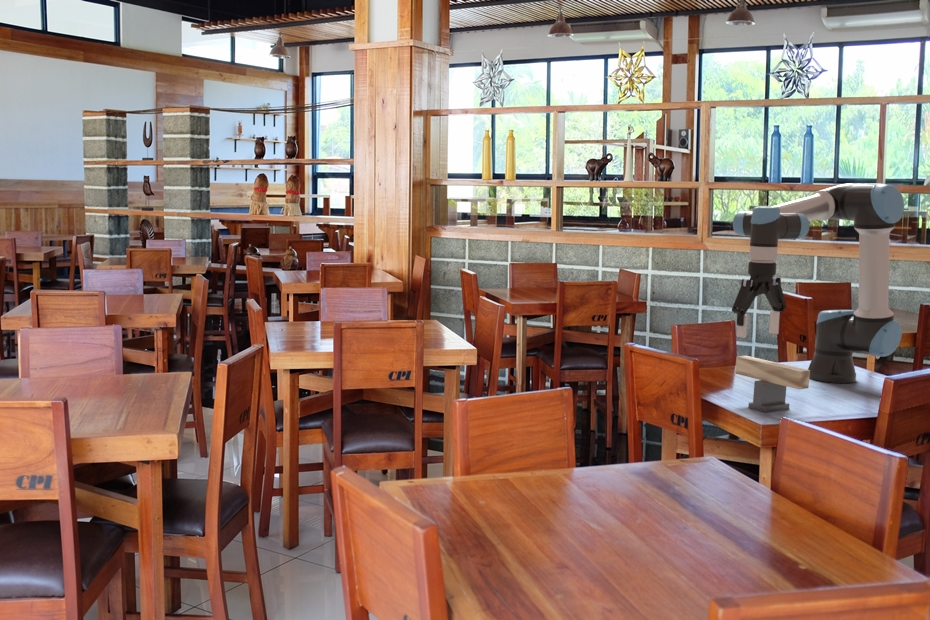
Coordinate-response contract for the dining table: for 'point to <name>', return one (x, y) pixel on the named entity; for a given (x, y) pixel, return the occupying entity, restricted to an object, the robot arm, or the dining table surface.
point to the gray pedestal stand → (768, 397)
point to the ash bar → (772, 372)
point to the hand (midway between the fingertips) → (757, 335)
